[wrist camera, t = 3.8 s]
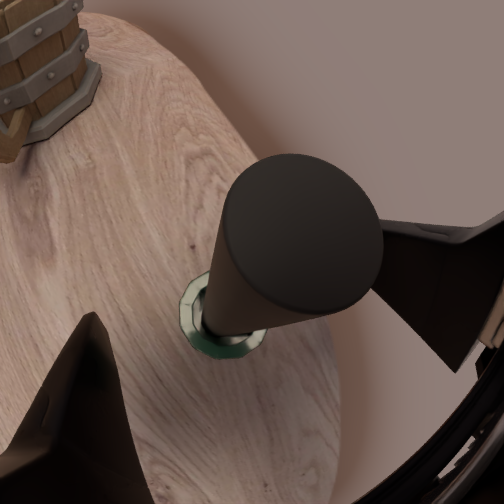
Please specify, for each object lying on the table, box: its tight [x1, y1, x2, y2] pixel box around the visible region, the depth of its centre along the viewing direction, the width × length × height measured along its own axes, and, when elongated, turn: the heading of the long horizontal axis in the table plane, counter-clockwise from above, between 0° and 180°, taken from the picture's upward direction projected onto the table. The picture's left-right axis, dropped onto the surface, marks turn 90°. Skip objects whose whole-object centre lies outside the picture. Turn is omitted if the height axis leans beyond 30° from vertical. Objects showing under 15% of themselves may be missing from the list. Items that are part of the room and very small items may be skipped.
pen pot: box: [179, 270, 268, 360], centre depth 14 cm, size 4×4×5 cm
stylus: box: [201, 154, 384, 337], centre depth 10 cm, size 2×2×14 cm
